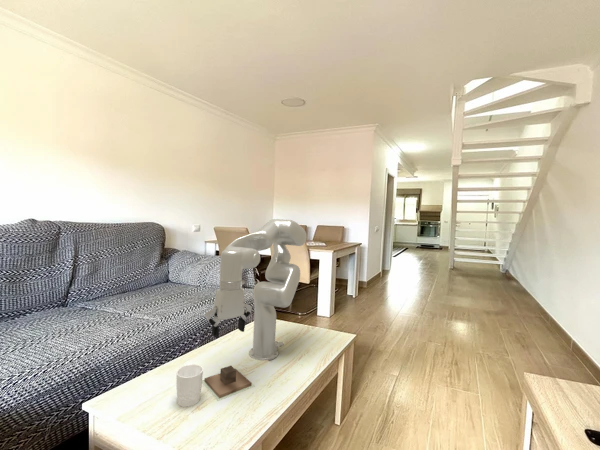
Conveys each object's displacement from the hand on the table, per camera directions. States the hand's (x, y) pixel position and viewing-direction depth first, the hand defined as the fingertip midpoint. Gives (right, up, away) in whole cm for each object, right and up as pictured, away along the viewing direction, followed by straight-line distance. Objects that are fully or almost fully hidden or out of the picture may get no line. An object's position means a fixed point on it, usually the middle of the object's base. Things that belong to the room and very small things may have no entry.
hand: (228, 333), depth 101 cm
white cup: (-10, -18, -10) cm, 23 cm away
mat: (0, -18, 0) cm, 18 cm away
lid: (0, -18, 0) cm, 18 cm away
